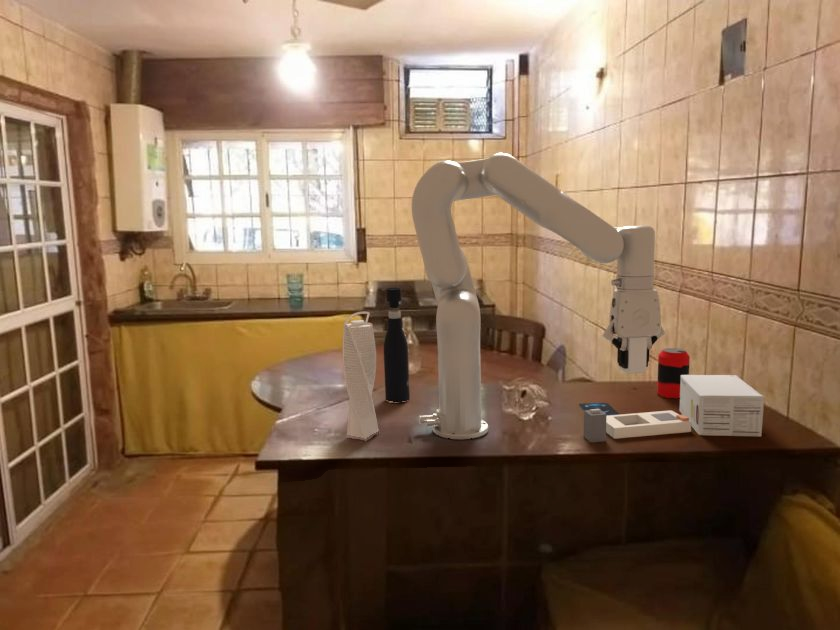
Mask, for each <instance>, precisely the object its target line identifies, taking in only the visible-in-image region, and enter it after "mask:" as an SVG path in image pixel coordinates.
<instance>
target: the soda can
mask: <svg viewBox="0 0 840 630" xmlns="http://www.w3.org/2000/svg"><path fill="white" fill-rule="evenodd" d="M657 356H658V357H657V358H658V359H657V382H656V383H657V385H656V386H657V388H656V393H657V395H658V396H659V397H661V398H664V397H665V398H664V399H670V398H680V380H681V375H690V361H691V359H690V358H691V357H690V355H689V353H688V351H686V349H682V348H676V347H668V348H667V347H666V348H663V349H662V350H661V351H660V352H659V354H658V355H657Z"/></svg>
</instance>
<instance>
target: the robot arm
mask: <svg viewBox="0 0 840 630" xmlns="http://www.w3.org/2000/svg"><path fill="white" fill-rule="evenodd" d="M491 196H497V197H498V198H500V200H502V201H504V202H505V203H506V204H508V205H510V206H511V207H512V208H514V209H515V210H516V211H518V212H520V213H521V214H522V215H523V216H525V217H527V218H528V219H529V220H530V221H532V222H533V223H535V224H537V225H539V226H540V227H541V228H543V229H546V230H548V231H551V232H553V233H554V234H556V235H558V236H559V237H561V238H562V239H564V240H566V241H567V242H568V243H570V244H572V245H573V246H574V247H576V248H577V249H579V250H580V253H582V255H583V256H584V257H586V258H588V259H589V260H592V261H595V262H597V263H601V264H610V263H612V262H615V261H616V262H617V263H616V276H615V278H614V279H611V281H610V282H611V283H610V284H611V286H613V287H614V286H615V288H616V289H614V290H613V293H612V297H611V298H612V299H611V303H610V309H609V324H608V325H607V327H606V329H605V331H604V333H603V334H602V337H603V338H604V339H605V340H607V341H609V342H610V343H611V344H612V345H613V346H614V347H615V349H617V351H616V352H617V357H616V361H617V364H618V366H619V367H622V368H624V369H627V368H628V351H627V350H626V347H627V342H628V338H631V337H646V336H647V358H646V368H648V367H649V362H650V350H651V349H652V348H653V345H654V344H656V342H657V341H658V339H660V338H661V337H663V336H664V335H665V333H666V332H665V330H664V329H663V327H662V317H661V316H662V315H661V313H662V312H661V304H660V297H659V291H658V289H655V288H654V281H655V280H654V278H655V246H656V245H655V244H656V241H655V240H656V233H655V232H656V231H655V229H654V228H653V227H652V226H651V225H624V226H622V227H618V226H613V225H611V224H610V223H608V222H607V221H605V220H604V219H603V218H601V217H600V216H598V215H597V214H595V213H594V212H592V211H591V210H590V209H588V208H586V207H585V206H584V205H582V204H580V203H579V202H578V201H576V200H575V199H574V198H572V197H571V196H569V195H568V194H567V193H565V192H564V191H563V190H562V189H559V188H558V187H556V186H555V185H554V184H552V183H550V182H549V181H548V180H547V179H545V177H542V176H541V175H539V174H538V173H536V171H534V170H532V169H531V168H530V167H528V166H527V165H525V164H524V163H523V162H521V161H519V160H518V159H517V158H516V157H514V156H512V155H511V154H509V153H503V152H498V153H493V154H492V155H490V156H489V157H486V158H480V159H475V160H474V159H473V160H468V161H460V162H456V161H454V160H453V161H451V160H441V161H438V162H436V163H435V164H433V165H432V166H431V167H430V168H428V169H427V170H426V172H425V173H423V174H422V176H421V177H420V178H419V180H418V181H417V183H416V186H415V187H414V190H413V194H412V199H411V217H412V221H413V226H414V229H415V233H416V237H417V238H416V239H417V243H418V246H419V250H420V253H421V257H422V261H423V265H424V273H425V276H426V277H427V279H428V280H429V282H430V284H431V287H432V290H433V293H434V297H435V301H436V304H437V305H436V306H437V309H436V317H435V321H436V323H435V324H436V325H435V327H436V341H437V342H436V344H437V366H438V367H437V368H438V369H437V370H438V373H437V374H438V408H436V410H435V412H434V413H432V414H430V415H429V414H424V415H418V424H420V425H424V424H425V425H426V427H430V426H432V431H433V433H434V434H435V435H436V436H438V435H439V437H442V438H445V439H448V438H450V439H451V440H472V439H476V438H480V437H482V436H484V435H486V434H487V433H488V432H489V425H488V423H487V422H486V421H485V420H483V419H482V390H481V389H482V386H481V385H482V375H481V374H482V368H481V364H482V363H481V310H480V309H481V308H480V303H479V299H478V297H477V292H476V288H475V285H474V282H473V278H472V274H471V269H470V267H469V266H470V265H469V263H468V260H467V256H466V254H465V252H464V251H463V250H462V249H461V245H460V242H459V239H458V235H457V232H456V227H455V225H456V224H455V223H454V219H453V214H452V206H453V202H457V201H463V200H472V199H478V198H484V197H486V198H487V197H491ZM614 335H616V337H615V336H614ZM471 438H472V439H471Z"/></svg>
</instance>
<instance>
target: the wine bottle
mask: <svg viewBox="0 0 840 630" xmlns="http://www.w3.org/2000/svg"><path fill="white" fill-rule="evenodd" d="M385 291H386V292H385V293H386V294H385V295H386V302H387V303H389V306H388V308H389V310H388V318H387V330H386V333H385V335H384V342H383V363H384V366H383V368H384V370H383V371H384V393H385V394H384V395H385V401H386V400H388V401H393V402H402V401H407V400H409V399H410V374H409V373H410V372H409V371H410V370H409V346H408V340H407V338H406V337H407V336H406V333H405V332H404V329H403V318H402V315H401V310H399V309H400V302H401V301H402V288H401V287H388V288H386V289H385ZM410 400H411V399H410ZM410 400H409V401H410Z"/></svg>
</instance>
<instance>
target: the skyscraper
mask: <svg viewBox="0 0 840 630" xmlns="http://www.w3.org/2000/svg"><path fill="white" fill-rule="evenodd" d="M363 314H364V315H365V314H367V315H366V319H365V320H363V319H354V320H353V319H352V320H350V319H351V318H352V317H354V316H357V315H363ZM370 315H371V313H370V312H369V311H358V312H354V313H352V314H350V315H349V316H347V318H346V319H345V321H344V322H343V329H342V330H343V332H342V348H341V349H342V369H343V377H344V382H345V386H346V391H347V394H348V395H347V396H348V399H349V403H348V406H349V407H348V415H347V416H348V418H347V428H346V429H347V430H346V436H347V435H351V436H356V437H361V438H364V439H366V438H367V437H369V436H370V435H372V434H374V433H376V432H378V431H379V425H378V419H377V414H376V410H375V406H374V401H373V396H372V395H373V391H374V386H375V381H376V374H377V373H376V371H377V348H376V347H377V346H376V339H375V333H374V326H373V323H372V322H369V317H370ZM349 320H350V323H348V322H349ZM379 432H380V431H379Z"/></svg>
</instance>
